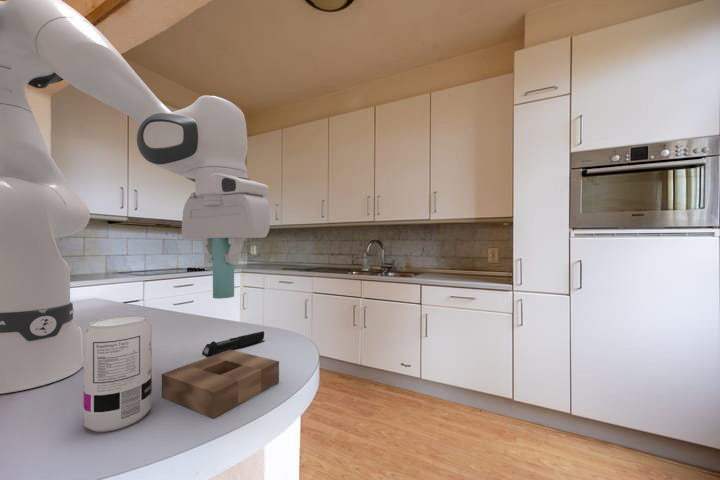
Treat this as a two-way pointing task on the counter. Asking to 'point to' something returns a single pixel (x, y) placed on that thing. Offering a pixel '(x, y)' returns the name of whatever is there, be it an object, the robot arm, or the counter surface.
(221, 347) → the electric trimmer
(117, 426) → the supplement can
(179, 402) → the socket block
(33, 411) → the counter surface
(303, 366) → the counter surface
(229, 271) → the peg
